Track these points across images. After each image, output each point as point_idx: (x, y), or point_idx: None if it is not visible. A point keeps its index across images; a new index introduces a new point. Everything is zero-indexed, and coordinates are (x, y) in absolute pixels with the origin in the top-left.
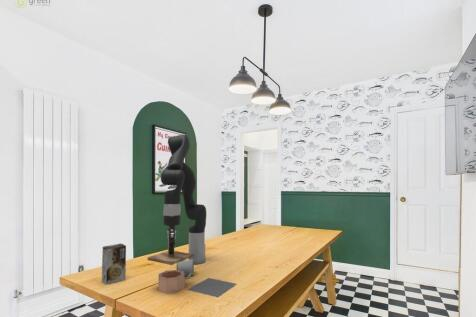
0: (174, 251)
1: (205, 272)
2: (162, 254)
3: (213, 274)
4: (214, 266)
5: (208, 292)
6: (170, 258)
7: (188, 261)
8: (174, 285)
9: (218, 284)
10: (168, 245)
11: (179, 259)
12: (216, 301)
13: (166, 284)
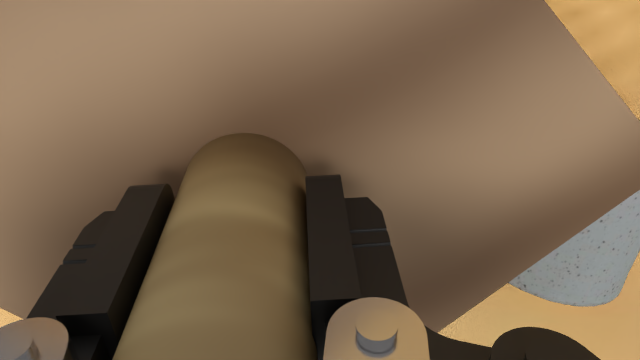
0: (536, 234)
1: (536, 297)
2: (383, 17)
3: (470, 336)
4: (631, 353)
5: None
6: (44, 187)
7: (565, 266)
8: None
9: None
10: (154, 297)
11: (12, 308)
12: (14, 317)
13: None
